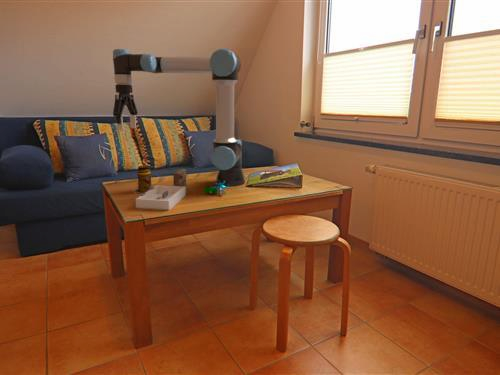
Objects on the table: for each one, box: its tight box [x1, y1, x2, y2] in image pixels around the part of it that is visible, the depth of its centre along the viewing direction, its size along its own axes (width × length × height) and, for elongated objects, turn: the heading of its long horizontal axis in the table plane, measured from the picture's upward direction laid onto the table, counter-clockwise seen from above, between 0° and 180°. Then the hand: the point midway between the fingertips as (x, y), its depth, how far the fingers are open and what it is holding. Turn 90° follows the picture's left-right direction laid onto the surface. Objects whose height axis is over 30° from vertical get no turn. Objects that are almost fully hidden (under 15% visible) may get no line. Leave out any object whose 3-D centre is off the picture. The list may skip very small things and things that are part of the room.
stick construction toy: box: [203, 181, 229, 197], centre depth 161 cm, size 12×7×8 cm
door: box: [172, 168, 187, 188], centre depth 169 cm, size 4×10×9 cm, turn 173°
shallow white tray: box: [135, 185, 187, 211], centre depth 150 cm, size 14×22×4 cm, turn 173°
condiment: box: [133, 165, 152, 194], centre depth 164 cm, size 7×8×12 cm
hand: (127, 129), depth 170 cm, fingers open, 13 cm apart
